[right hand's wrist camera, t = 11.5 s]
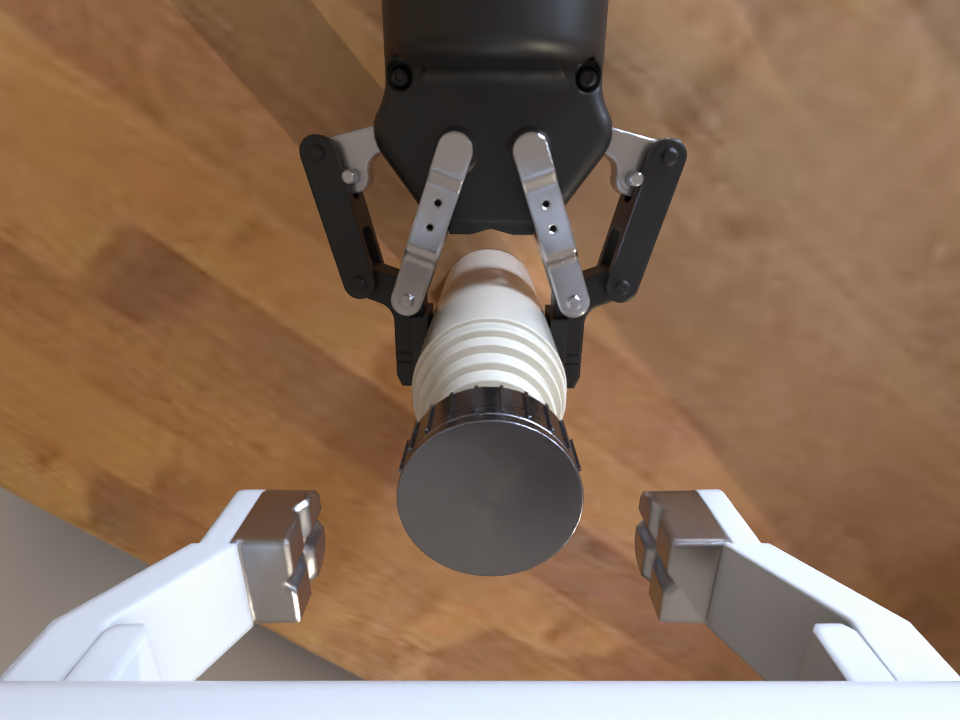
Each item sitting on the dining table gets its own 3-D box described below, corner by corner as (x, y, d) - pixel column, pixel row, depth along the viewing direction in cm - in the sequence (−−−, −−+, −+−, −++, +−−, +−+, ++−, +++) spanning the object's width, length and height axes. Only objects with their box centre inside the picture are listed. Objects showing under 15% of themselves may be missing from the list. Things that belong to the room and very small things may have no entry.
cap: (590, 505, 13) (605, 554, 12) (437, 543, 14) (430, 595, 12) (550, 362, 12) (560, 394, 10) (381, 409, 12) (364, 448, 11)
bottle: (544, 323, 29) (621, 552, 12) (459, 348, 29) (422, 597, 13) (519, 237, 27) (572, 363, 10) (430, 265, 27) (344, 426, 11)
